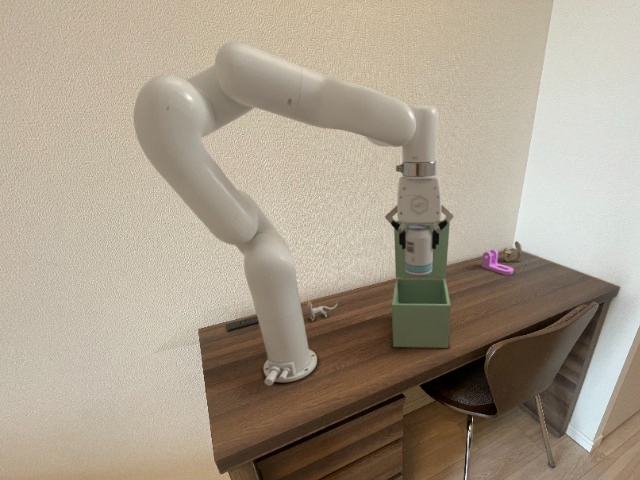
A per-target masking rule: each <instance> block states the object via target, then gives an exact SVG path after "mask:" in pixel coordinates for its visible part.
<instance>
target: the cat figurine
mask: <svg viewBox="0 0 640 480" xmlns="http://www.w3.org/2000/svg"><path fill="white" fill-rule="evenodd" d="M514 247H515V249H516V250H517V254H516V255H515V256H514V257H511V255H512V254H513V251H512V250H511V249H509V248H508V247H507V246H506V247H504V249H503V256H504V261H505V262H506V263H508V262H517V263H518V262H519V261H520V259H521V255H522V254H521V253H522V250H523V249H522V244H521V243H520V242H519V241H518V240H516V241H515V242H514Z"/></svg>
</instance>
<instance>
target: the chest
mask: <svg viewBox="0 0 640 480" xmlns="http://www.w3.org/2000/svg"><path fill="white" fill-rule="evenodd" d="M391 303H392V304H391V319H392V320H391V321H392V322H391V323H392V347H393V348H432V349H433V348H435V349H438V348H439V349H440V348H441V349H448V348H449V340H450V339H449V337H450V324H451V323H450V322H451V309H452V306H451V300H450V294H449V290H448V284H447V279H446V278H395V282H394V289H393V295H392V302H391Z"/></svg>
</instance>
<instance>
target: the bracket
mask: <svg viewBox="0 0 640 480" xmlns="http://www.w3.org/2000/svg"><path fill="white" fill-rule="evenodd" d="M498 260H499V251H498V250H497V249H490V251H485V252H483V253H482V259H481V268H483V269H487V270H490V271H492V272H495V273H499V274H502V275H504V276H505V275H507V276H510V275H513V274H514V271H515V269H514V268H513V267H511V266H508V265H505V264H502V263H499V262H498Z"/></svg>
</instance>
